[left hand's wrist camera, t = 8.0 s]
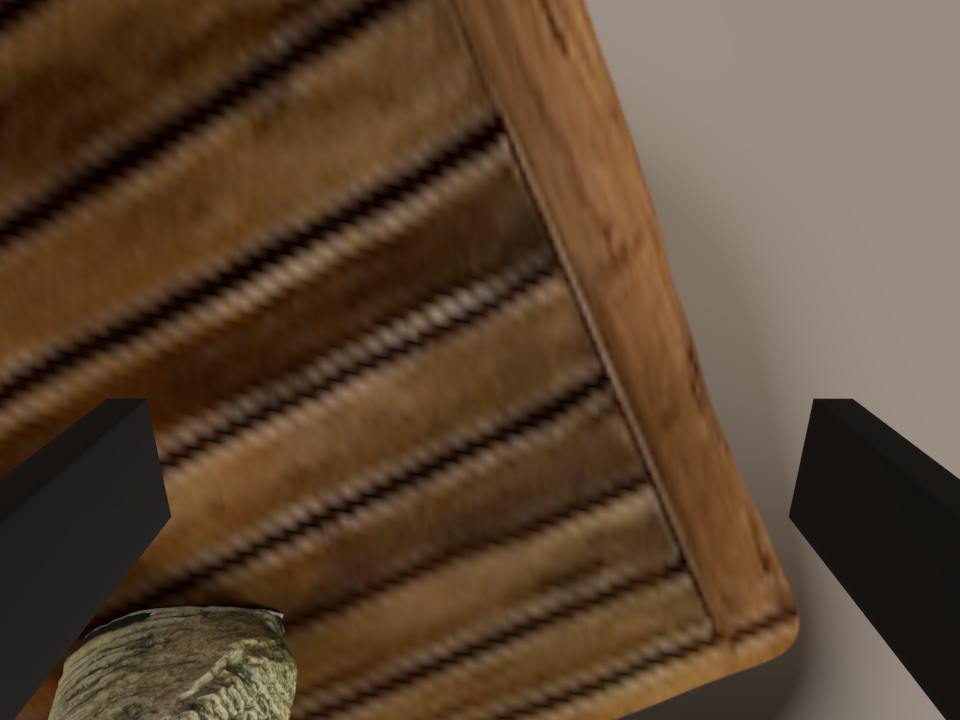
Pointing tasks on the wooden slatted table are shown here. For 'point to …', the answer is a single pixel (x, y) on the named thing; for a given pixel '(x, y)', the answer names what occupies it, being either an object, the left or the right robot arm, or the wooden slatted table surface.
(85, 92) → the wooden slatted table surface
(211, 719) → the fossil
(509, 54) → the wooden slatted table surface
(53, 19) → the wooden slatted table surface
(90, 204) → the wooden slatted table surface
